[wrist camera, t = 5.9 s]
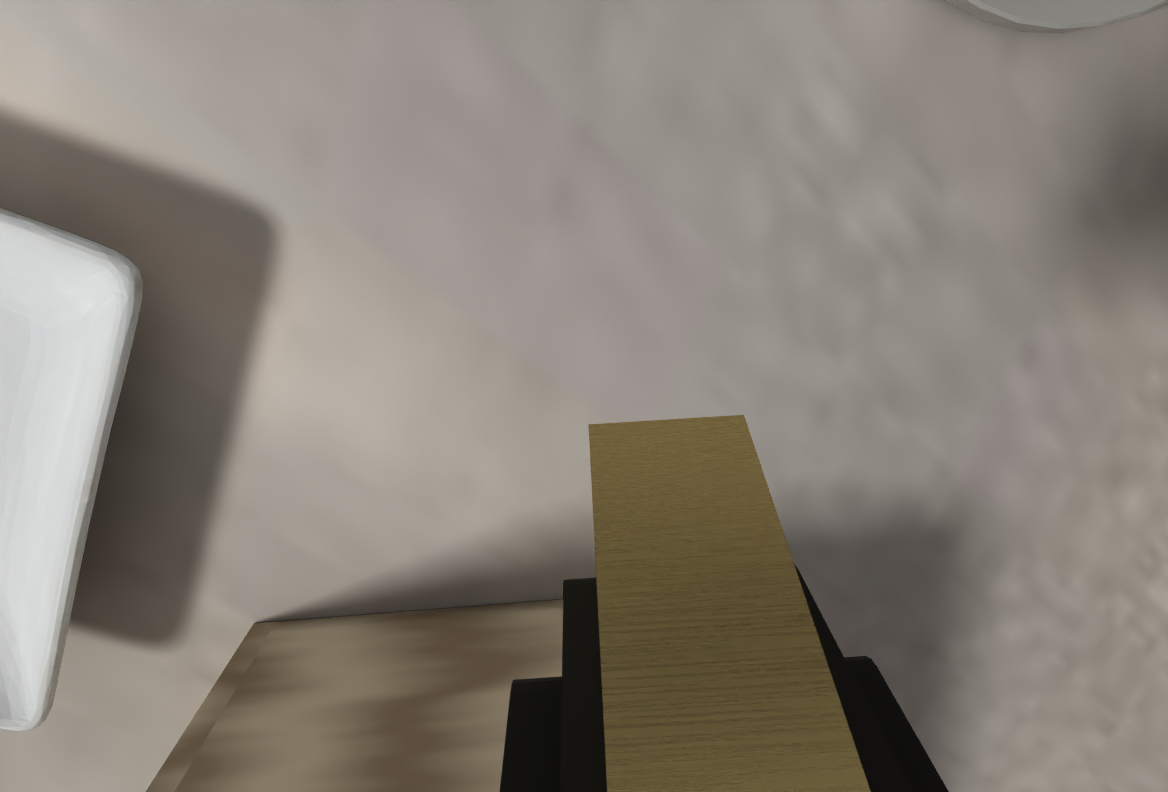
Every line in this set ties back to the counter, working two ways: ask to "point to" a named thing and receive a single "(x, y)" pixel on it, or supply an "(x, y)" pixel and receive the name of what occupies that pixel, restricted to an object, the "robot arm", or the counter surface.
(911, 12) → the counter surface
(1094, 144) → the counter surface
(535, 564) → the counter surface
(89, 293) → the tray
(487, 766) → the box
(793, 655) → the block
